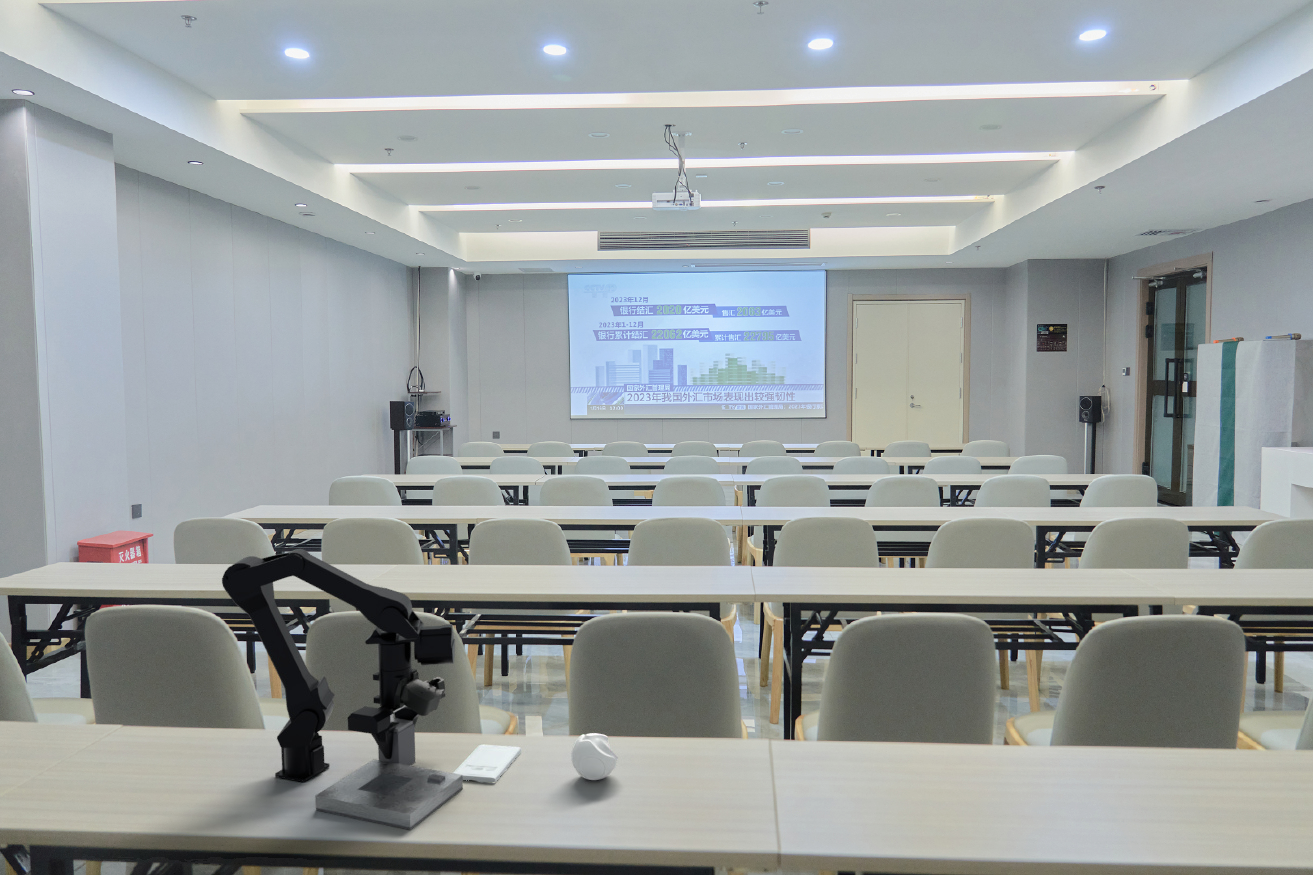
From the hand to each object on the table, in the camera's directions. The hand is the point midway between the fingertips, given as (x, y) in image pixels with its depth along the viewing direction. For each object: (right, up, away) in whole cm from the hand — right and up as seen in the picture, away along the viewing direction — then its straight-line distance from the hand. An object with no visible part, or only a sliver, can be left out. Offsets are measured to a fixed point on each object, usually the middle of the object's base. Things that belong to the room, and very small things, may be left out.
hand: (397, 752), depth 152 cm
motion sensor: (+35, -2, -6) cm, 36 cm away
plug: (0, -2, 0) cm, 2 cm away
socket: (+3, -3, -12) cm, 13 cm away
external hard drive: (+16, -3, 0) cm, 16 cm away
